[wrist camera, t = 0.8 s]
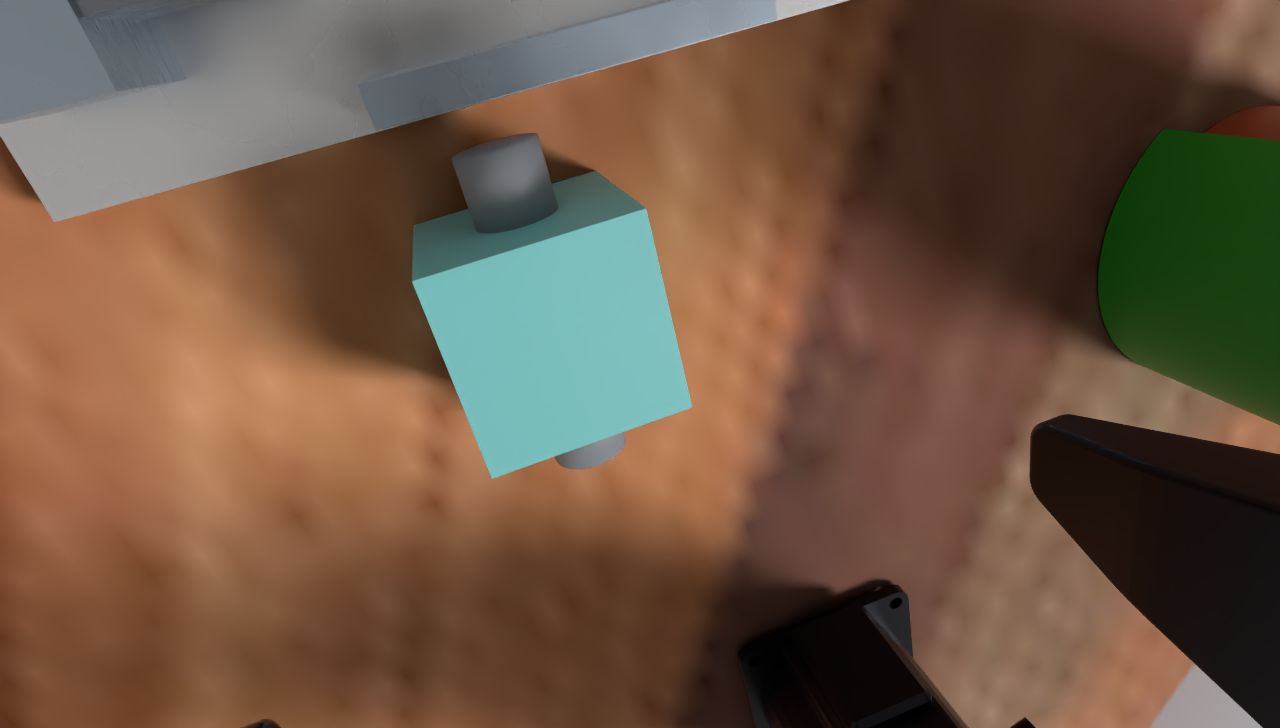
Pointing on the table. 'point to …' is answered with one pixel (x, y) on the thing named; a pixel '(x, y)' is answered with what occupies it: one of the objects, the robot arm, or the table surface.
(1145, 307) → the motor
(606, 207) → the coupler
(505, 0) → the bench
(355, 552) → the table surface
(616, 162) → the table surface
